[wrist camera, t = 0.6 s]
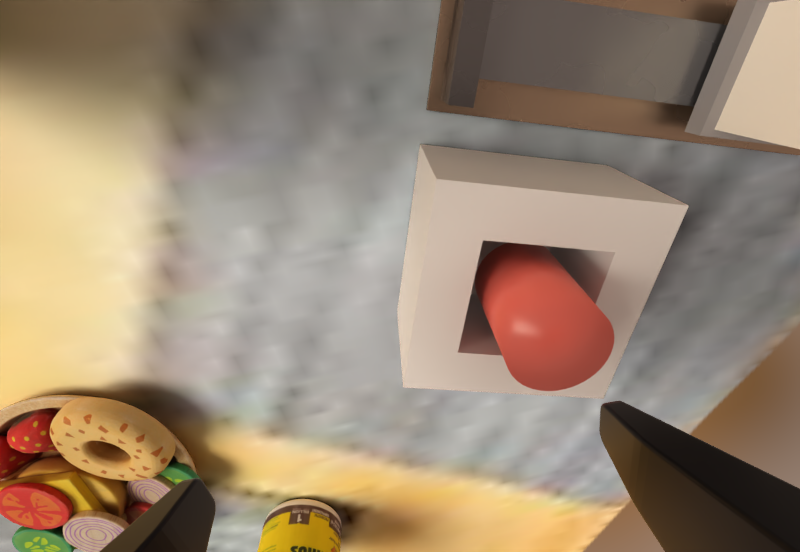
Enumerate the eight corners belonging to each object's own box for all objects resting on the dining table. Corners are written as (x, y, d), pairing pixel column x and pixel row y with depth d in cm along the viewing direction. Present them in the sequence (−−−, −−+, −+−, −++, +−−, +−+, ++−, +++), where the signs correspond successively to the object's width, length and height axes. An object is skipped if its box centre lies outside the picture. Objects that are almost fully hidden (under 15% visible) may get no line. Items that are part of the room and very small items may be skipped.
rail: (426, 109, 19) (433, 116, 17) (449, -61, 16) (461, -79, 14) (796, 154, 21) (847, 166, 18) (874, 8, 18) (945, 2, 16)
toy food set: (163, 365, 25) (135, 406, 22) (239, 507, 31) (225, 553, 28) (-56, 401, 25) (-112, 445, 22) (62, 533, 31) (30, 582, 29)
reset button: (467, 310, 19) (495, 388, 15) (484, 236, 18) (520, 298, 13) (544, 316, 20) (593, 393, 15) (568, 244, 18) (630, 307, 14)
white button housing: (397, 311, 24) (403, 387, 18) (420, 144, 19) (436, 179, 14) (557, 323, 24) (607, 398, 19) (611, 165, 20) (694, 206, 15)
